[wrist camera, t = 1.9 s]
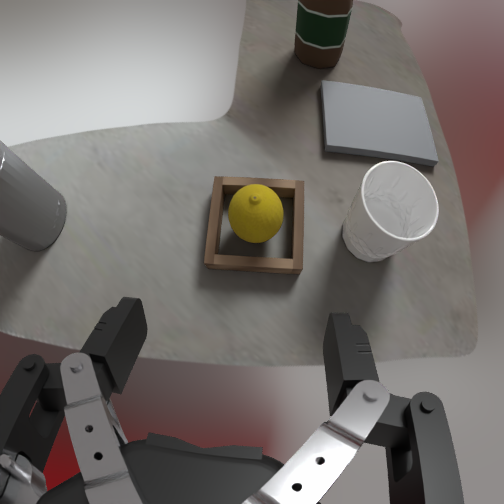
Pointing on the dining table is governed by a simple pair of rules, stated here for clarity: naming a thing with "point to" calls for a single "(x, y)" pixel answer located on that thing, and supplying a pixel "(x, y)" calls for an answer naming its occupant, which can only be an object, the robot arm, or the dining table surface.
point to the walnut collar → (246, 262)
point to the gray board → (376, 123)
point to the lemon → (255, 213)
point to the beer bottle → (321, 31)
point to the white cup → (389, 211)
